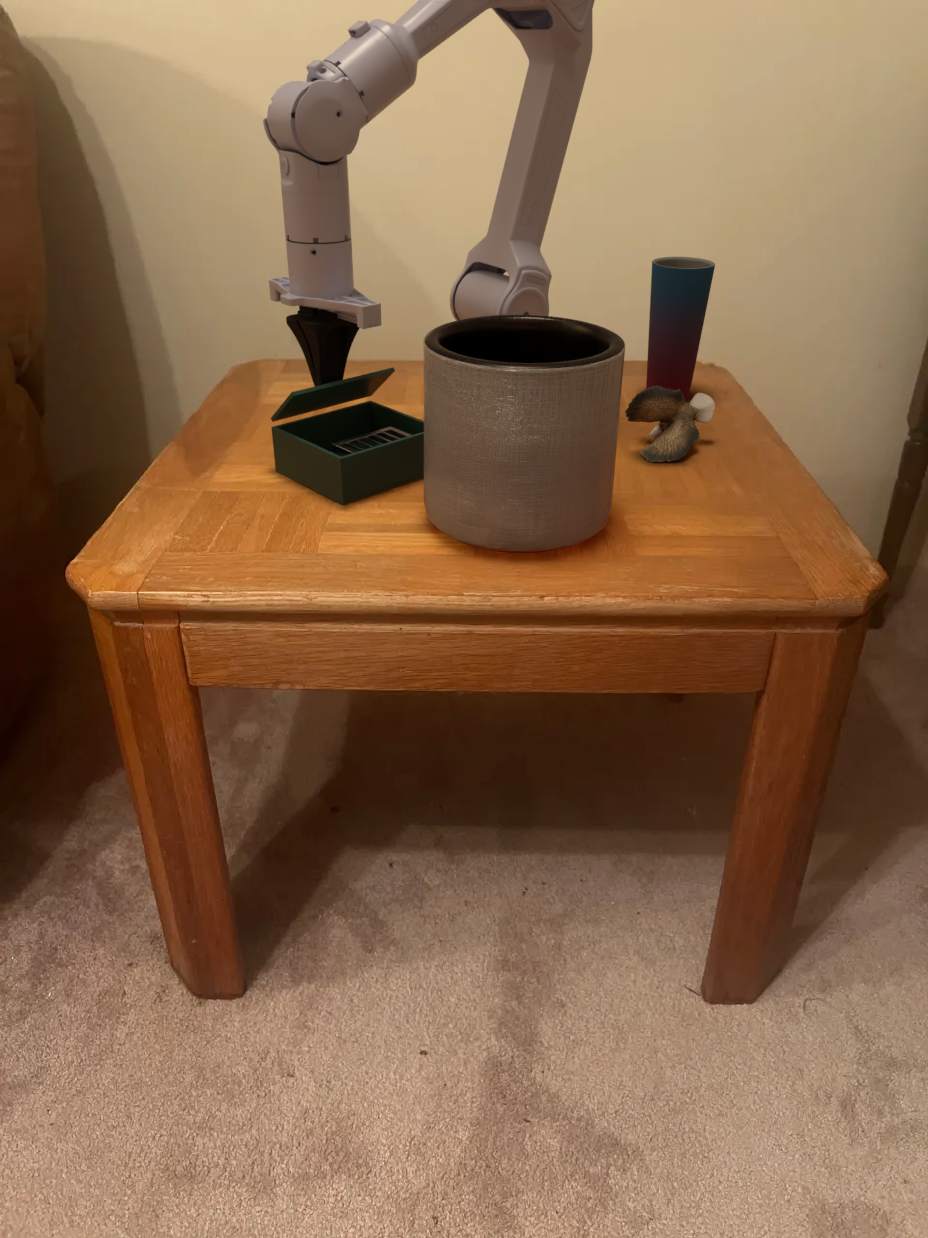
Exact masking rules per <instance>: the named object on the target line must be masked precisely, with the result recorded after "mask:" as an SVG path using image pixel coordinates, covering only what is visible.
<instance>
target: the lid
mask: <svg viewBox="0 0 928 1238" xmlns="http://www.w3.org/2000/svg"><path fill="white" fill-rule="evenodd" d="M394 372H396V370H395V367H388V368H385V369H381V370H377V371H373V372H369V373H364V374H361V375H356V376H352V377H347V378H343V380H339V381H335V382H331V383H327V384H323V385H319V386H311V387H306V388H303V389H298V390H295V391H291V392H290V393H289V395H288V396H287V397H286V398H285V399H284V401H283V402H282V403H281V405H280V406H279V407H278V408H277V409H276V410H275V412H274V413H273V415H272V416H271V417H270V420H271V422H277V421H281V420H286V419H289V418H292V417H296V416H297V417H298V416H300V415H304V414H308V413H312V412H316V411H320V410H322V409H326V408H331V407H335V406H338V405H342V404H344V403H345V404H346V403H349V402H354V401H358V400H361V399H364V398H369V397H372V396H373V395H374V394H375V392H376V391H377V390H379V389H380V387H381V386H382V385H383V384H384V383H385V382H386V381H387V380H388V379H389V378H390V377H391V376H392V375H393V374H394Z"/></svg>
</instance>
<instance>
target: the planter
mask: <svg viewBox="0 0 928 1238" xmlns="http://www.w3.org/2000/svg"><path fill="white" fill-rule="evenodd" d="M422 342H423V421H424V478H423V503H424V510H425V514H426V516H427V519H428V520H429V521H430V522H431V524H432V525H434V527H436V528H437V529H438V530H439V531H440V532H441V533H442V534H445V535H446V536H448V537H450V538H451V539H452V540H455V541H457V542H459V543H461V544H463V545H465V546H469V547H472V548H476V549H478V550H483V551H488V552H494V553H501V554H503V553H504V554H511V555H512V554H515V555H526V554H527V555H528V554H544V553H550V552H555V551H560V550H564V549H568V548H571V547H574V546H576V545H578V544H580V543H582V542H585V541H587V540H588V539H590V538H592V537H593V536H595V535H596V534H598V532H600V531H602V529H603V528H604V527H605V526H606V525H607V523H608V522H609V519H610V515H611V511H612V506H613V497H614V486H615V472H616V461H617V460H616V458H617V457H616V456H617V447H618V436H619V435H618V434H619V432H618V431H619V422H620V409H621V397H622V388H623V387H622V386H623V375H624V364H625V355H626V354H625V353H626V343H625V341H624V339H623V338H622V337H621V336H620V335H619V334H617V333H616V332H615V331H612V330H611V329H608V328H607V327H604V326H601V325H599V324H595V323H592V322H588V321H583V320H579V319H573V318H567V317H560V316H551V315H548V316H540V315H493V316H482V317H474V318H467V319H462V320H457V321H456V320H454V321H450V322H447V323H444V324H441V325H439V326H436V327H434V328H433V329H431V330H430V331H428V332H427V333H426V335H425V336H424V337H423V341H422Z"/></svg>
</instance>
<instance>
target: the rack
mask: <svg viewBox="0 0 928 1238" xmlns="http://www.w3.org/2000/svg"><path fill="white" fill-rule="evenodd" d="M395 436H396V437H395ZM408 436H411V434H408V433H406V432H403V431H401V430H398V429H396V428H393V427H387V428H384V429H380V430H377V431H374V432H370V433H367V434H363V435H360V436H357V437H353V438H350V439H346V440H343V441H340V442H336V443H333V444H332V447H333V453H334V454H337V455H339V456H341V457H342V456H345V455H349V454H352V453H355V452H359V451H362V450H365V449H368V448H372V447H375V446H378V445H382V444H385V443H388V442H391V441H395V440H398V439H400V438H405V437H408ZM398 437H399V438H398Z"/></svg>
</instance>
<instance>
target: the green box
mask: <svg viewBox="0 0 928 1238" xmlns="http://www.w3.org/2000/svg"><path fill="white" fill-rule="evenodd" d="M387 427H393V428H396V429H398V430H401V431H403V432H406V433H408V434H411V436H408V437H405V438H400V439H398V440H395V441H391V442H388V443H385V444H382V445H378V446H375V447H372V448H368V449H365V450H362V451H359V452H355V453H352V454H349V455H345V456H342V457H341V456H339V455H337V454H334V453H333V447H332V444H333V443H336V442H340V441H343V440H346V439H350V438H353V437H357V436H360V435H363V434H367V433H370V432H374V431H377V430H380V429H384V428H387ZM271 437H272V447H273V456H274V466H275V472H277V473H280V474H281V475H282V476H285V477H287V478H289V479H291V480H293V481H295V482H296V483H299V484H300V485H302V486H304V487H307V488H308V489H310V490H312V491H313V492H314V491H315V492H316V493H318V494H320V495H322V496H324V497H326V498H328V499H330V500H332V501H334V502H336V503H337V504H340V505H342V506H346V505H349V504H351V503H354V502H359V501H360V500H363V499H366V498H370V497H372V496H375V495H378V494H381V493H384V492H386V491H387V492H388V491H390V490H392V489H393V490H394V489H395V488H398V487H401V486H404V485H407V484H410V483H414V482H416V481H419V480H422V479H424V420H423V419H420V418H418V417H414V416H412V415H409V414H407V413H405V412H402V411H399V410H396V409H394V408H391V407H389V406H386V405H383V404H380V403H378V402H376V401H373V400H367V401H364V402H360V403H357V404H352V405H349V406H345V407H341V408H337V409H334V410H329V411H327V412H322V413H318V414H315V415H311V416H307V417H304V418H299V419H296V420H293V421H288V422H285V423H282V424H281V423H280V424H277V425H274V426H271ZM395 437H396V436H395ZM398 438H399V437H398Z"/></svg>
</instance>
